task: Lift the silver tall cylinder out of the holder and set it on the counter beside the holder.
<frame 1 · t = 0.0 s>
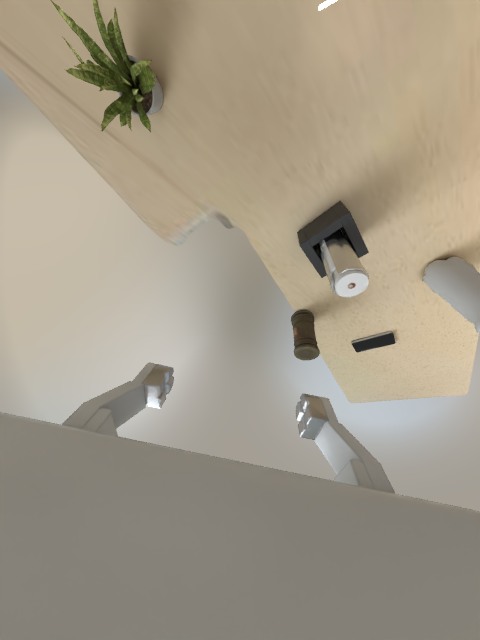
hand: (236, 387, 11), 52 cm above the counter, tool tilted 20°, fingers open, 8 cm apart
container: (302, 317, 76), on the counter
house plant: (154, 86, 37), on the counter
bottle: (438, 268, 54), on the counter
smartphone: (372, 340, 80), on the counter
holder: (327, 235, 52), on the counter
silver tall cylinder: (327, 234, 52), resting in holder
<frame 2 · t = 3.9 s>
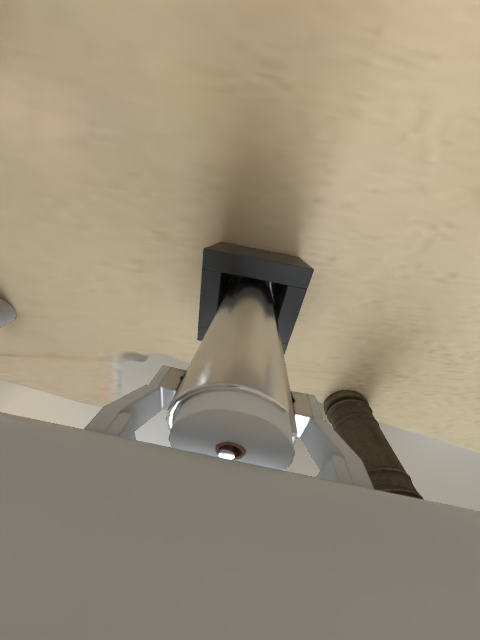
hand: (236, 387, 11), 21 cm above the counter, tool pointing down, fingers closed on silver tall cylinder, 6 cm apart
container: (344, 404, 40), on the counter
house plant: (1, 302, 37), on the counter
holder: (251, 287, 30), on the counter
silver tall cylinder: (251, 287, 30), resting in holder, touching gripper
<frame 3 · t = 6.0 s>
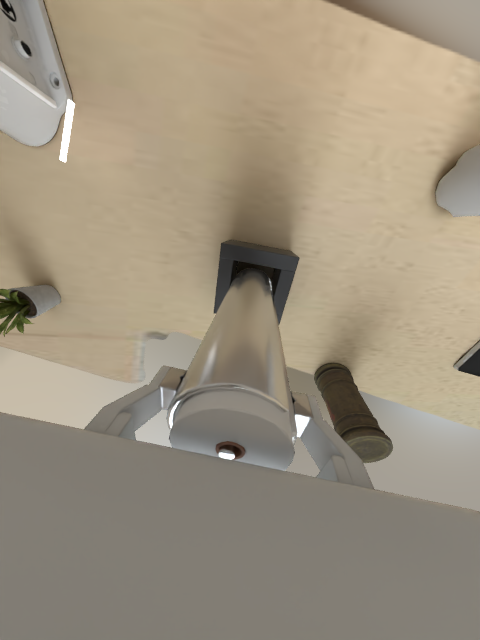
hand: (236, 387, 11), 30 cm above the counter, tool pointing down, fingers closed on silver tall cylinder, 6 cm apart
container: (331, 375, 48), on the counter
house plant: (49, 289, 45), on the counter
bottle: (461, 184, 29), on the counter
holder: (254, 275, 38), on the counter
silver tall cylinder: (251, 287, 30), point 9 cm above the counter, touching gripper
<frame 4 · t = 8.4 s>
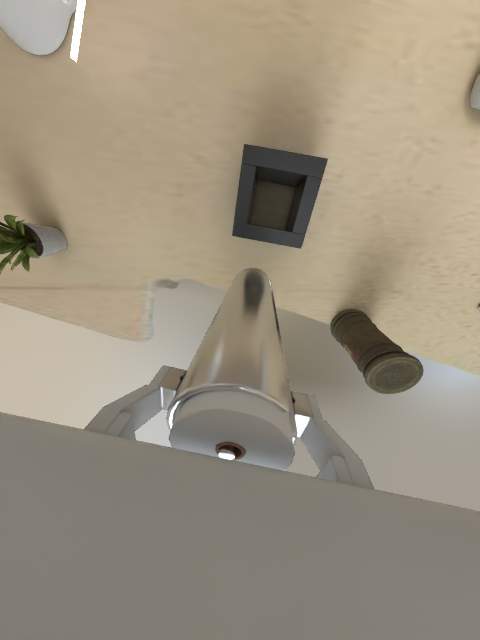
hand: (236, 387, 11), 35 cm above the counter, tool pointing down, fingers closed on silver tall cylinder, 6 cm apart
container: (348, 325, 46), on the counter
house plant: (55, 232, 43), on the counter
holder: (272, 206, 37), on the counter
silver tall cylinder: (251, 287, 30), point 14 cm above the counter, touching gripper
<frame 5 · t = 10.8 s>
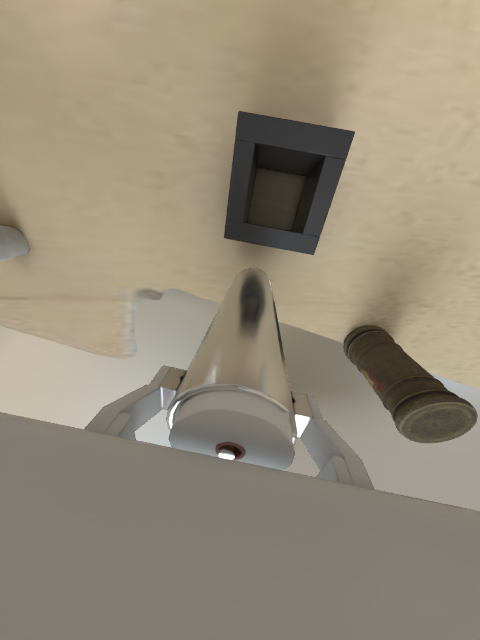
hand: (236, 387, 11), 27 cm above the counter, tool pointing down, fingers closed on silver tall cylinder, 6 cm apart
container: (364, 343, 39), on the counter
house plant: (14, 233, 36), on the counter
holder: (275, 201, 29), on the counter
silver tall cylinder: (251, 287, 30), point 5 cm above the counter, touching gripper
when the fingers open (21 cm above the counter, at t = 13.0 s): silver tall cylinder stays where it is, on the counter.
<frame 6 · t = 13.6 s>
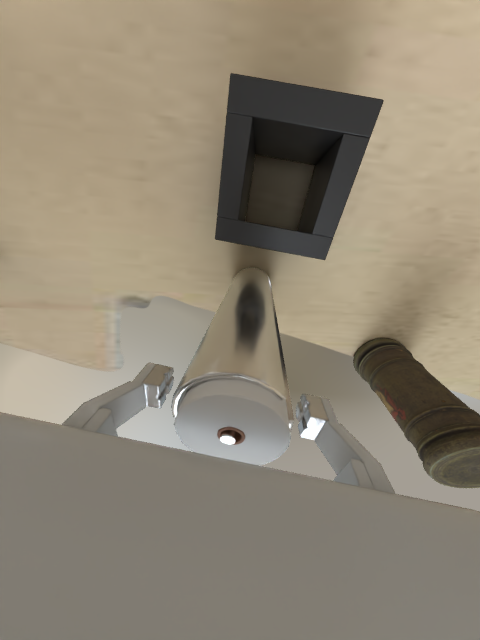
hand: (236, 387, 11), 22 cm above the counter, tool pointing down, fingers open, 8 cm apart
container: (377, 357, 35), on the counter
holder: (277, 195, 25), on the counter
silver tall cylinder: (251, 286, 31), on the counter
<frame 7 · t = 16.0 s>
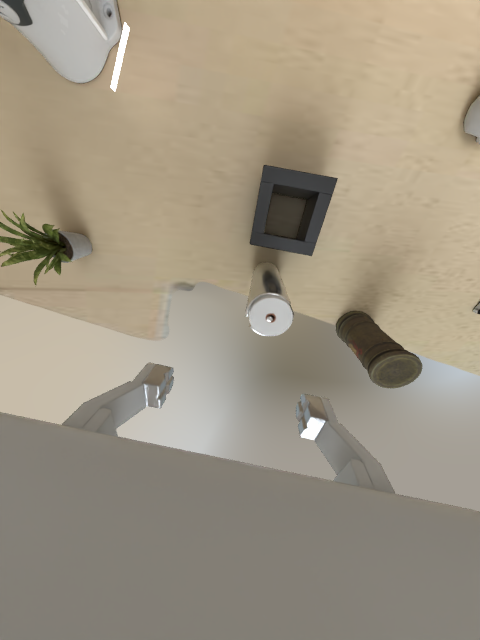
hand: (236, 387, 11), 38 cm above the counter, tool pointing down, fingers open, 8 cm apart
container: (352, 325, 50), on the counter
house plant: (82, 238, 47), on the counter
holder: (284, 217, 40), on the counter
silver tall cylinder: (265, 274, 46), on the counter
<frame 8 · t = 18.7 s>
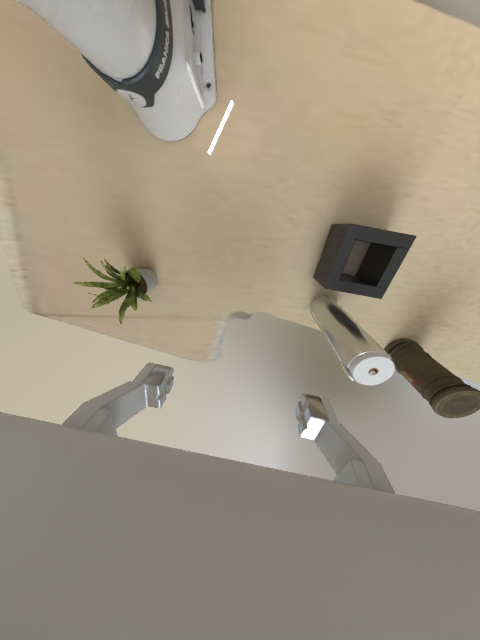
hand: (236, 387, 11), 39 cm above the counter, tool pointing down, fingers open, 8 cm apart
container: (399, 351, 53), on the counter
house plant: (148, 273, 50), on the counter
holder: (347, 257, 43), on the counter
silver tall cylinder: (322, 306, 49), on the counter
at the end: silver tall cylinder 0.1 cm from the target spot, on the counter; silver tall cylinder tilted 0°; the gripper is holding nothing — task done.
